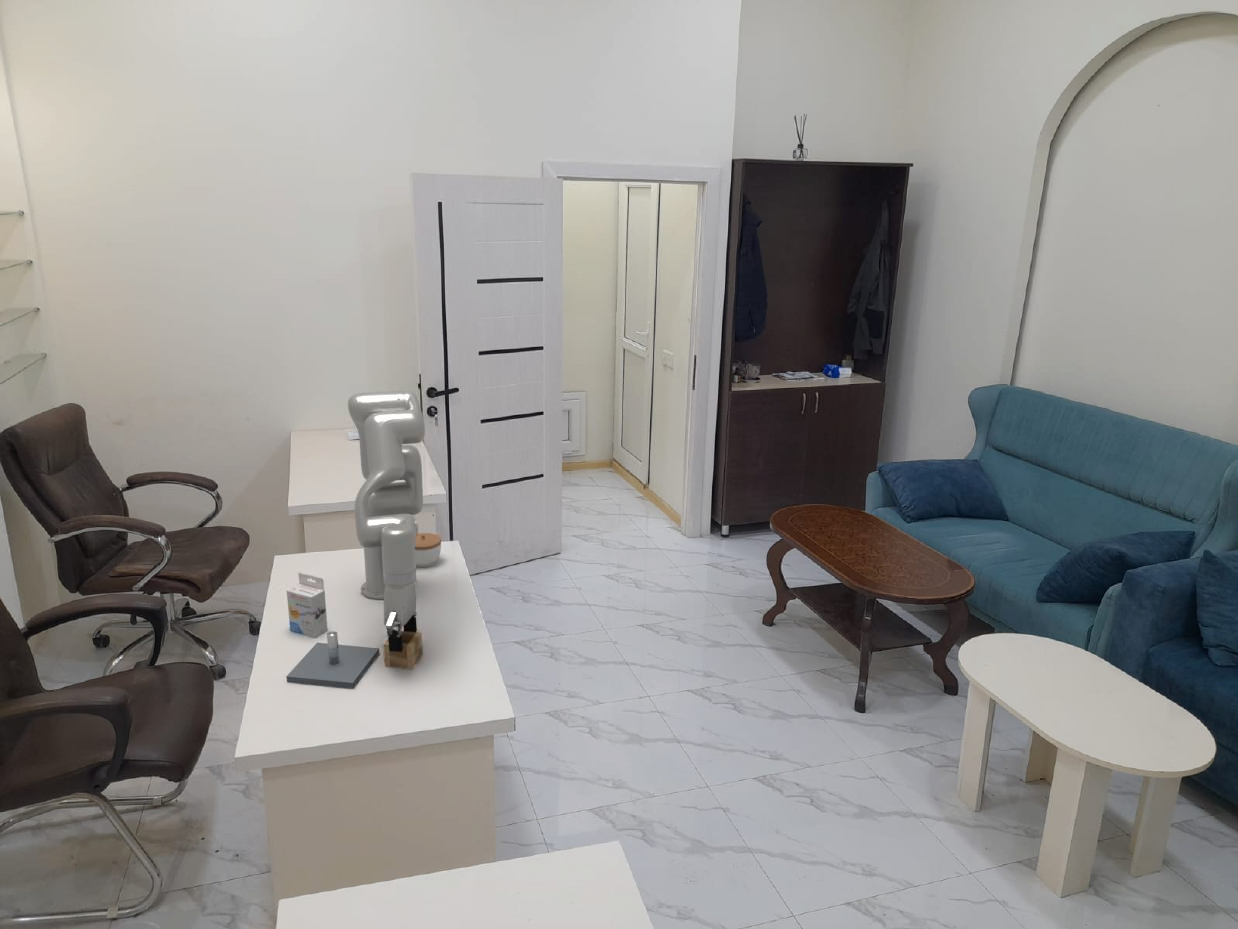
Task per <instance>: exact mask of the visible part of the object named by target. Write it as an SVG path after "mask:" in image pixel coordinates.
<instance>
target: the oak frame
mask: <svg viewBox="0 0 1238 929" xmlns="http://www.w3.org/2000/svg"><path fill="white" fill-rule="evenodd" d="M395 630H396V629H395ZM396 631H398V629H397V630H396ZM422 635H423V634H422V632H408V631H404V630H401V635H400V636H402V643H403V651H402V652H394V651H389V641H388V638H387V639H386V640H385V641H384V643H383V659H384V660H383V661H384V667H388V668H398V669H409V670H414V668H415V667H416V665H417V664H418V662H419V661H420V659H421V658H422V656H423V655H424V654H423V636H422Z"/></svg>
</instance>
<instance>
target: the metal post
mask: <svg viewBox="0 0 1238 929" xmlns="http://www.w3.org/2000/svg"><path fill="white" fill-rule="evenodd" d="M338 638H339V635H338V632H337V631H329V632H327V633H326V641H327V642H326V643H327V644H328V657H329V664H332V665H334V664H337V663H339V648H338V645H339V639H338Z"/></svg>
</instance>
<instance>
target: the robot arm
mask: <svg viewBox="0 0 1238 929" xmlns="http://www.w3.org/2000/svg"><path fill="white" fill-rule="evenodd" d="M347 401H348V402H347V408H348V412H349V416H350V418H351V420H352V422H353V423H354V426H355V427H356V430H357V432H358V437H359V439H358V440H359V450H360V452H359V453H360V454H359V455H360V466H361V467H360V468H361V469H360V470H361V474H362V476H363V478H364V479H365V481H364V483H363V484H362V485H361V487H360V488H359V490H358V492H357V495H356V497H355V501H354V522H355V529H356V537H357V541H358V544H359V545H360V546H361V547H362V548H363V555H364V569H365V570H364V572H365V582H364V583H362V585H361V586H360V593H361V594H362V595H363V596H364V597H366V598H368V599H372V600H373V599H374V600H383V623H384V625H385V629H386V633H387V634H386V635H387V639H388V641H389V651H394V652H402V651H403V643H402V636H400V635H401V631H408V632H417V631H418V628H417V625H418V624H417V592H416V591H417V590H416V582H417V569H416V568H417V566H416V562H415V538H416V536H417V535H418V534H419V524H418V520H417V519H416V518H415V517H414V515H418V514H419V513H421V511H422V510H423V506H424V489H423V467H422V458H421V457H422V456H421V452H420V451H419V449H418V448H417V447H416V446H414V445H411V444H419V443H422V441H423V440H424V438H425V435H426V434H425V432H426V429H425V428H426V425H425V420H424V416H423V413H422V409H421V406H420V402H419V400H418V397H417V395H416V394H415V393H414V391H413V392H412V391H410V390H396V391H395V390H392V391H370V392H360V393H354V394H353V395H351V396H350V397H349V398H348V400H347ZM398 481H400V482H398ZM397 622H398V623H397ZM394 628H397V631H396V629H394ZM402 629H403V630H402Z"/></svg>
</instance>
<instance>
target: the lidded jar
mask: <svg viewBox="0 0 1238 929" xmlns="http://www.w3.org/2000/svg"><path fill="white" fill-rule="evenodd" d="M441 550H442V538H441V536H439V535H438V534H435V533H431V532H430V533H428V532H422V533H421V532H420V533H419V532H418V535H417V536H416V538H415V562H416V567H419V568H428V567H432V566H433V565H434V564H435V562H436V561H437V560H438V559H439V558H440V554H441Z"/></svg>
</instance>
